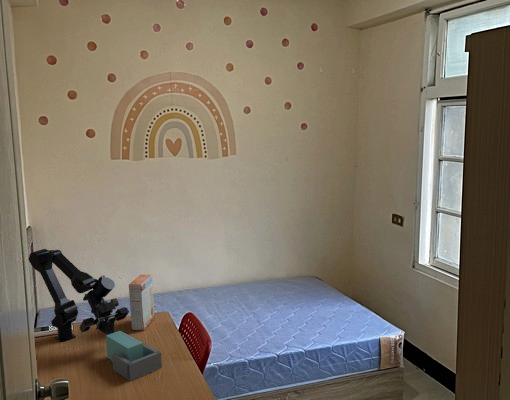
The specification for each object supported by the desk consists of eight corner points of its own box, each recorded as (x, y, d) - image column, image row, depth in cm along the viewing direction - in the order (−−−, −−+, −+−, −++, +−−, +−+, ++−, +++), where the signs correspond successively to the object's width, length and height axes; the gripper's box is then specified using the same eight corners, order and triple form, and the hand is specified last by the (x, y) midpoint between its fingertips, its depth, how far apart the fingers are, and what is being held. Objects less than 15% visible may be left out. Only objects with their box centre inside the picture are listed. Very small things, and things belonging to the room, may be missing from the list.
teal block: (107, 357, 189) (105, 335, 188) (121, 352, 193) (120, 330, 192) (129, 372, 178) (128, 348, 177) (143, 366, 182) (142, 343, 181)
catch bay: (112, 369, 180) (111, 354, 179) (143, 357, 189) (143, 342, 188) (130, 381, 172) (129, 364, 171) (161, 367, 181) (161, 352, 180)
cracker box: (142, 318, 228) (140, 273, 225) (155, 318, 227) (152, 274, 224) (130, 330, 214) (127, 283, 211) (144, 331, 213) (141, 284, 210)
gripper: (80, 299, 185) (97, 336, 179) (125, 287, 198) (142, 321, 192) (72, 314, 192) (88, 350, 186) (116, 301, 205) (132, 334, 199)
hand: (113, 338), depth 191 cm, fingers closed, pressing on teal block
